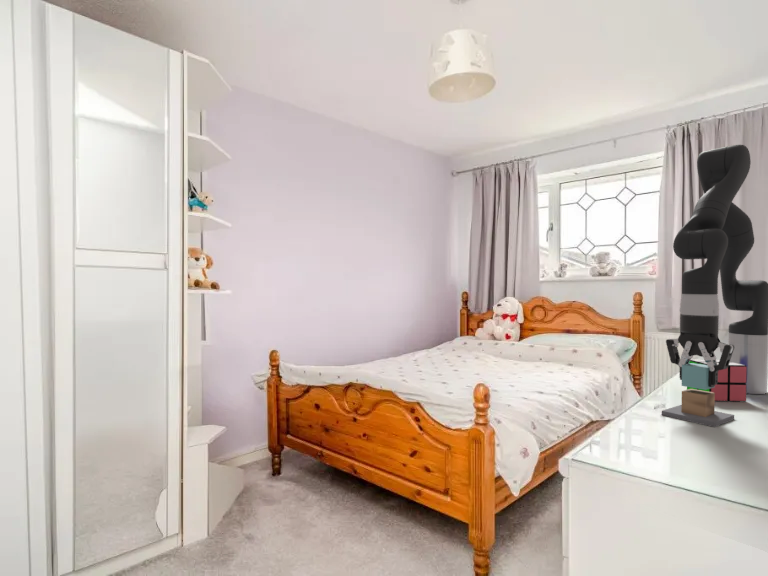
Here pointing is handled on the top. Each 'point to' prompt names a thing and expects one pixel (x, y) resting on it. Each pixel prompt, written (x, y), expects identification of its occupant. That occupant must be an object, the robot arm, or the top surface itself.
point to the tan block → (698, 402)
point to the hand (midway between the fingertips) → (698, 384)
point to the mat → (710, 420)
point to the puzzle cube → (728, 382)
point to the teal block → (695, 376)
